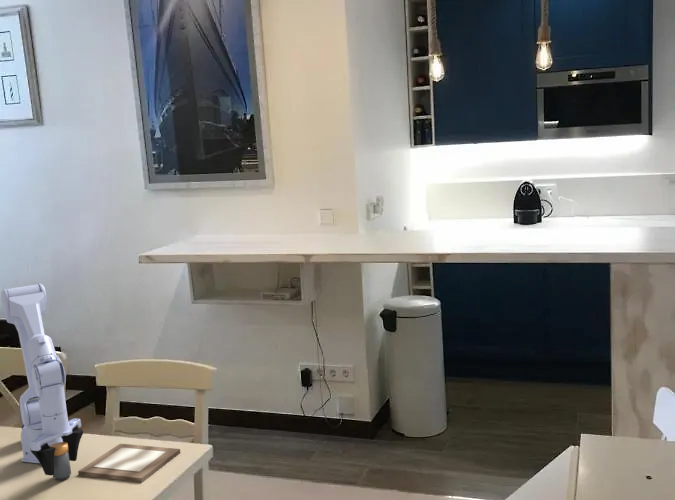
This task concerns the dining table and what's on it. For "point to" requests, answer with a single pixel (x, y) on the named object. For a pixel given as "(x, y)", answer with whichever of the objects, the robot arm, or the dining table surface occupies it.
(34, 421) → the robot arm
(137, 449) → the board
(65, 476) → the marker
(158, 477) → the dining table surface
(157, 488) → the dining table surface
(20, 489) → the dining table surface
